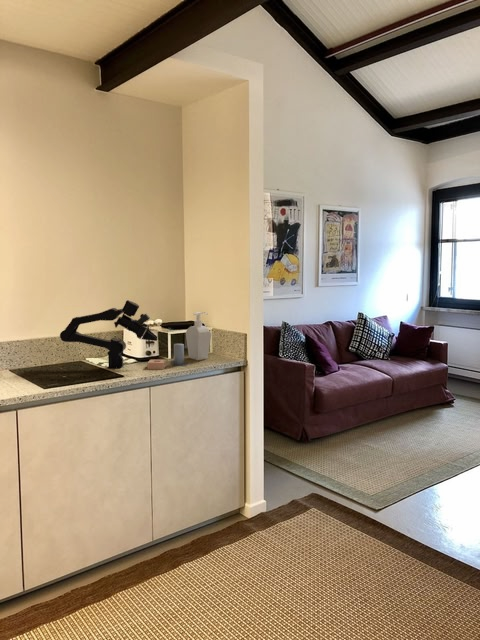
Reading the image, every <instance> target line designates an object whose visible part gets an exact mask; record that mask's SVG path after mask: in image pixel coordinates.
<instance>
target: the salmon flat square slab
mask: <svg viewBox="0 0 480 640" xmlns="http://www.w3.org/2000/svg"><path fill="white" fill-rule="evenodd" d="M166 367H167V360H166V359H149V361H148V362H147V370H164V369H165V368H166Z"/></svg>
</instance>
